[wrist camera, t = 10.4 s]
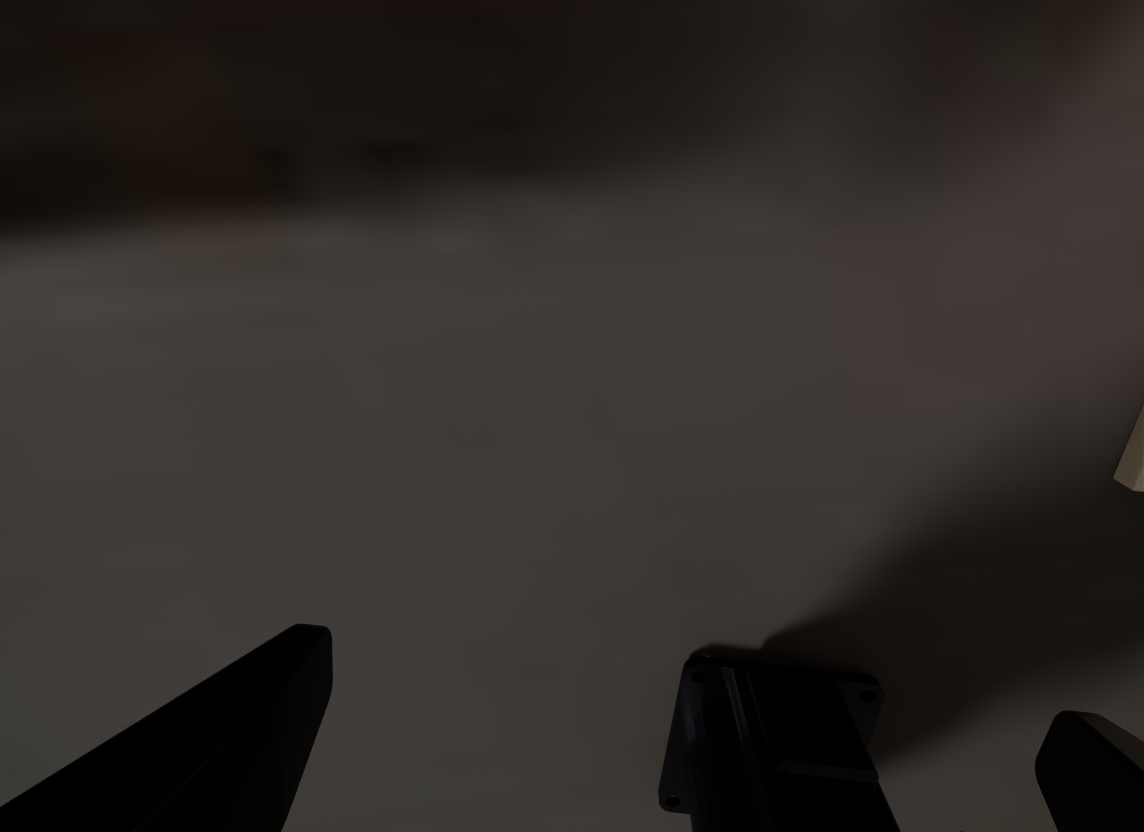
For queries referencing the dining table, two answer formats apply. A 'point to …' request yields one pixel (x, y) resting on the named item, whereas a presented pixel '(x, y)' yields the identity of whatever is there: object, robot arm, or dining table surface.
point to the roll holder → (1133, 459)
